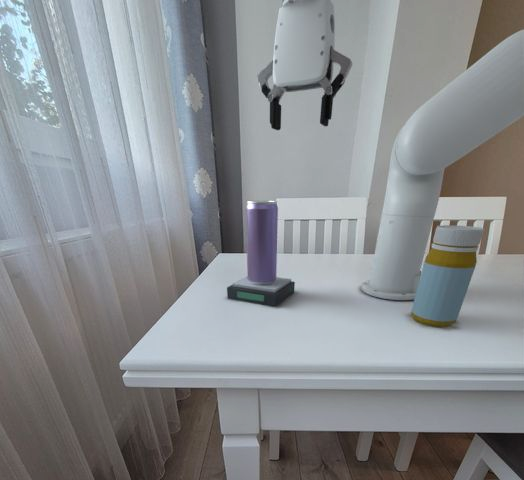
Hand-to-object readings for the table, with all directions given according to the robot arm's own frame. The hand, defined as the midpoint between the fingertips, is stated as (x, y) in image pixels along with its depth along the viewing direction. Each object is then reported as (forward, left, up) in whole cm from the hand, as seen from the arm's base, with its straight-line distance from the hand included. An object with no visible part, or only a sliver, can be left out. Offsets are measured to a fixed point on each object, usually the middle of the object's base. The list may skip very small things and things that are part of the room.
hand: (299, 127), depth 56 cm
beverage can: (+2, +11, -28) cm, 30 cm away
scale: (+2, +11, -30) cm, 32 cm away
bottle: (-30, +10, -31) cm, 44 cm away
